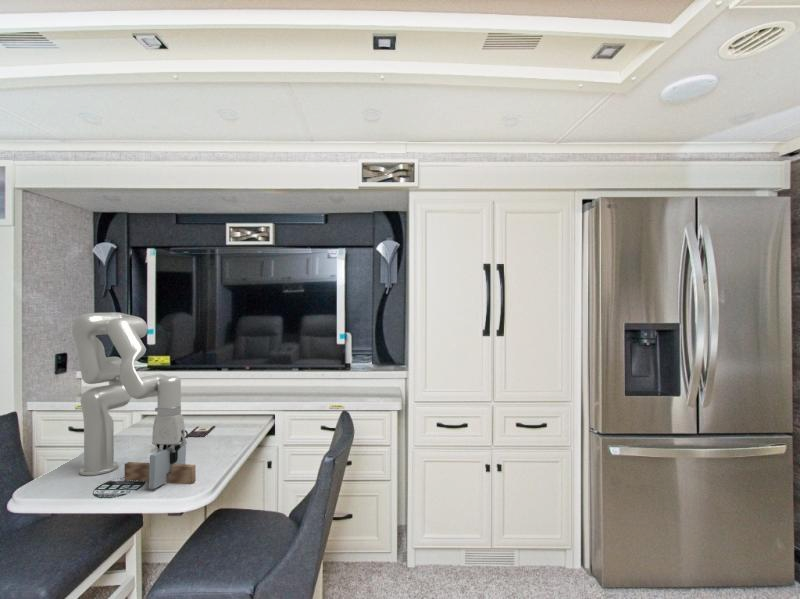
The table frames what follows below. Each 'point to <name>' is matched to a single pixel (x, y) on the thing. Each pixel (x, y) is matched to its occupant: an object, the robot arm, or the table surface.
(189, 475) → the walnut board
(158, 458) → the grey panel
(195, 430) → the chocolate bar
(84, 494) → the table surface
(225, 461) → the table surface
